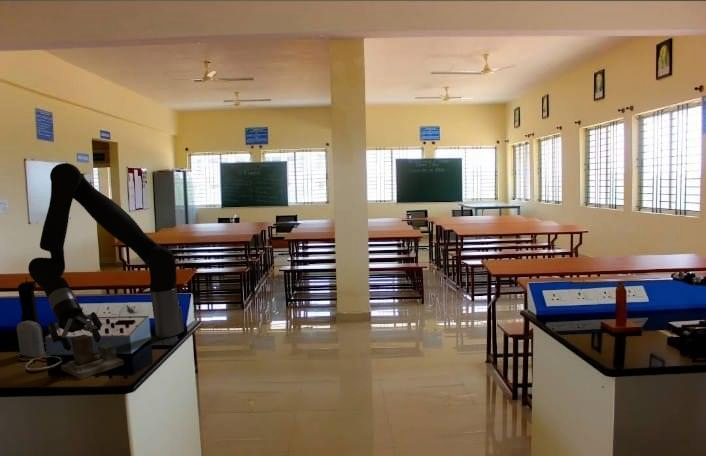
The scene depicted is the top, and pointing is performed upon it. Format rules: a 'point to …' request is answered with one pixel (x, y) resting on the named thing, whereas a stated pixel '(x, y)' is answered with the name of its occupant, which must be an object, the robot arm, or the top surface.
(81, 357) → the walnut block
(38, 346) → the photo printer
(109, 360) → the base board
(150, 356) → the top surface
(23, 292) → the portable radio
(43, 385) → the top surface
